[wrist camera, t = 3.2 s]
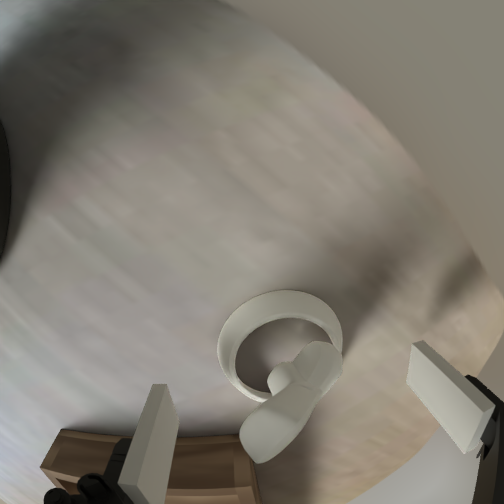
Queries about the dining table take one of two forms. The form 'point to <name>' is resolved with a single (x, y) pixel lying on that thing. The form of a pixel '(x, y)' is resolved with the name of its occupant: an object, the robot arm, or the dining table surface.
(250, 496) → the wooden tray
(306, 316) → the hook
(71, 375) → the dining table surface
